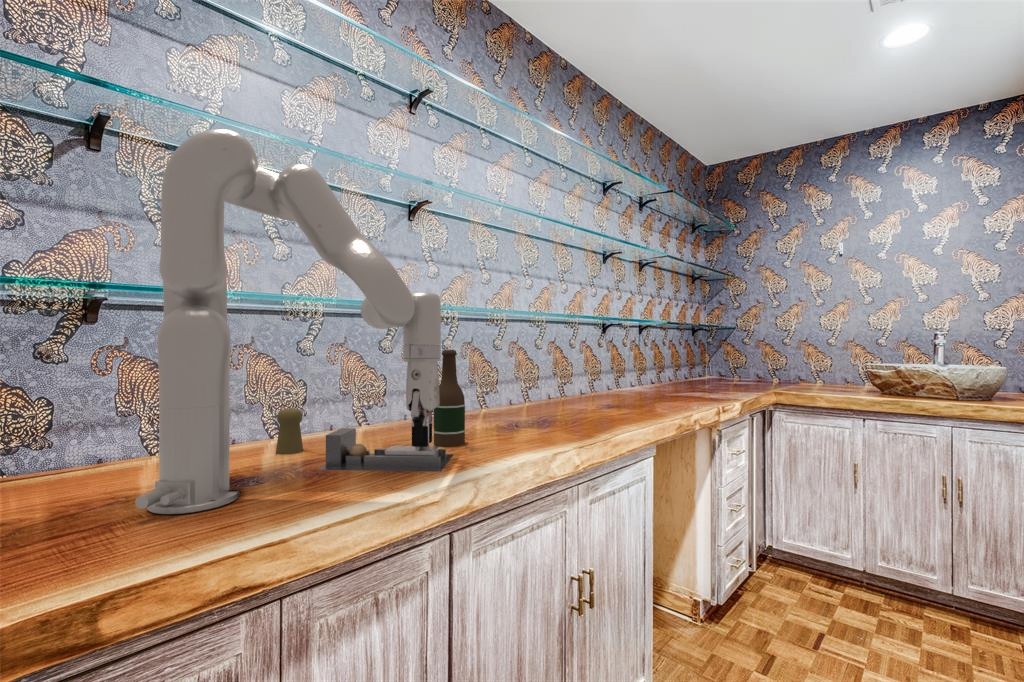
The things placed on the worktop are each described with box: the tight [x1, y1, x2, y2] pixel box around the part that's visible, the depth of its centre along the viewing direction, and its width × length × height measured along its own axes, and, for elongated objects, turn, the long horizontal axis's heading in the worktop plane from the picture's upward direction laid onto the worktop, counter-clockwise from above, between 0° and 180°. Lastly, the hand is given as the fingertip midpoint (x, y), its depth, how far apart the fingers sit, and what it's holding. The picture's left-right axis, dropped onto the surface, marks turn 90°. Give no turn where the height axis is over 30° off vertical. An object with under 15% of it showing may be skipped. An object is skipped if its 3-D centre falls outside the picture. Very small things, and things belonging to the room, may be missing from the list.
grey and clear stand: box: [385, 411, 440, 456], centre depth 99 cm, size 4×10×10 cm, turn 87°
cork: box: [274, 407, 304, 456], centre depth 109 cm, size 6×6×11 cm
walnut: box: [349, 443, 368, 460], centre depth 100 cm, size 4×4×4 cm
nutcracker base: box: [316, 427, 454, 473], centre depth 99 cm, size 14×24×8 cm, turn 87°
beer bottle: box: [433, 349, 466, 448], centre depth 117 cm, size 8×8×24 cm
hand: (422, 443), depth 99 cm, fingers closed on grey and clear stand, 2 cm apart
